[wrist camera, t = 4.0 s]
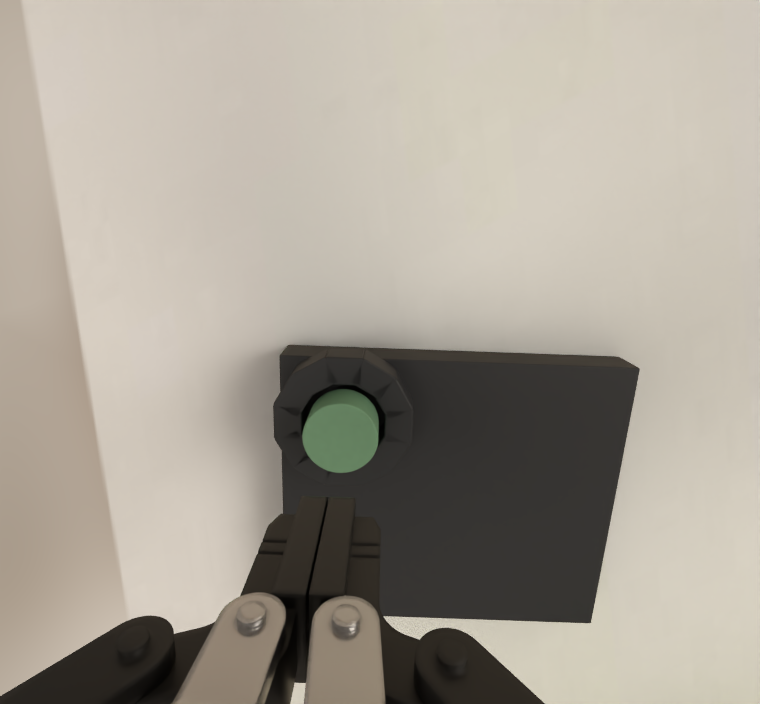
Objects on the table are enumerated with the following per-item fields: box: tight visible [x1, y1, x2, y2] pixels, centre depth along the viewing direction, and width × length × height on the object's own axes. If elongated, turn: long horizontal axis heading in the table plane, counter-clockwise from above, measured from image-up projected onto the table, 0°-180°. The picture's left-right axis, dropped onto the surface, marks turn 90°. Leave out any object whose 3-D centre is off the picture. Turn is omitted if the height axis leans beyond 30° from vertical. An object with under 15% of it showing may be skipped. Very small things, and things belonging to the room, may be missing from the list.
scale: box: [273, 345, 639, 623], centre depth 22 cm, size 16×14×4 cm
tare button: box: [302, 389, 379, 473], centre depth 19 cm, size 3×3×2 cm
